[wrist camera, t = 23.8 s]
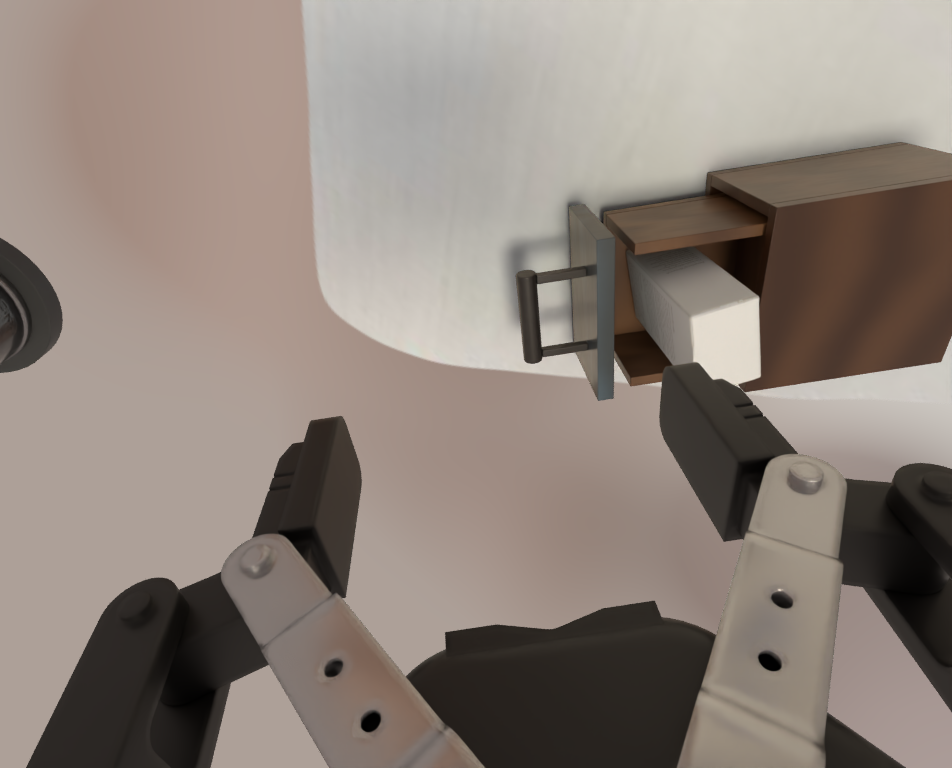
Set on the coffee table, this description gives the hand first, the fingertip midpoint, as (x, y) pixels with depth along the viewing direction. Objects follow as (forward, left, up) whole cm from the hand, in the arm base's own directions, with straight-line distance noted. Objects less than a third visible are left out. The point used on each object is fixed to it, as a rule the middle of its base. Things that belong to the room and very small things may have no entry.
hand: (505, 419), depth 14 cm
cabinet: (+26, -10, -30) cm, 41 cm away
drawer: (+12, -10, -29) cm, 33 cm away
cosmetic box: (+14, -10, -28) cm, 33 cm away
